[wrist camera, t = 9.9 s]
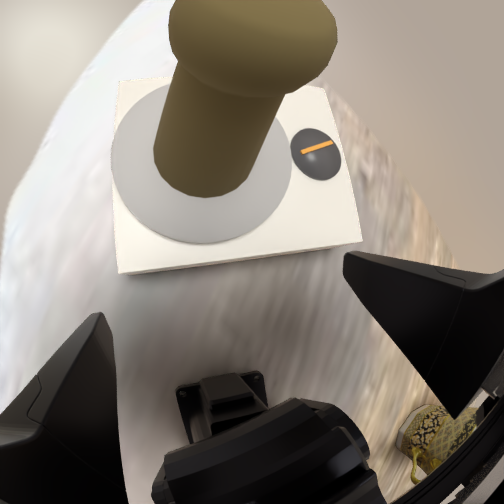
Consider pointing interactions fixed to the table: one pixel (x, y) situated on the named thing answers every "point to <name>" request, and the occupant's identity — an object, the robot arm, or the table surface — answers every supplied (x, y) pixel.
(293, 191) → the kitchen scale
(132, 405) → the table surface
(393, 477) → the table surface
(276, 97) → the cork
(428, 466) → the ceramic cup
